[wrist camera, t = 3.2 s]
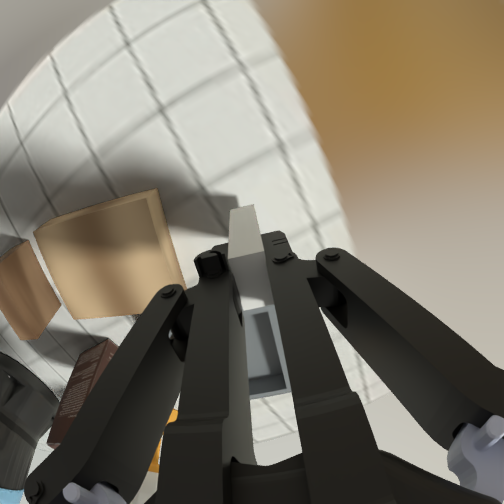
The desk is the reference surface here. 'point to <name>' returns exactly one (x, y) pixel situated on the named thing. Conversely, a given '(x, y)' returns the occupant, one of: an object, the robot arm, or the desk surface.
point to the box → (80, 388)
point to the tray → (264, 353)
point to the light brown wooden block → (110, 256)
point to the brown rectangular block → (25, 292)
